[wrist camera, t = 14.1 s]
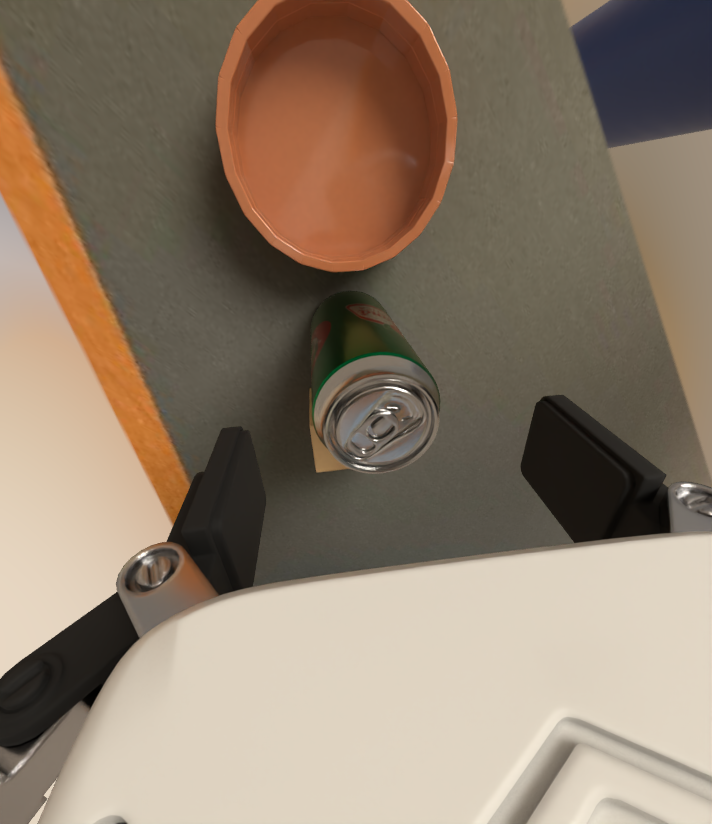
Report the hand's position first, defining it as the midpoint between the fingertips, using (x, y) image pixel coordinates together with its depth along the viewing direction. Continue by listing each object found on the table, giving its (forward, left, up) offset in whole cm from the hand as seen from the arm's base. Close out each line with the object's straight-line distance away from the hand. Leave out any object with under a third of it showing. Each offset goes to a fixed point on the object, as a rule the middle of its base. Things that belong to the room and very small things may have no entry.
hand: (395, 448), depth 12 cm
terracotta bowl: (0, -9, -13) cm, 16 cm away
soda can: (0, 0, -14) cm, 14 cm away
